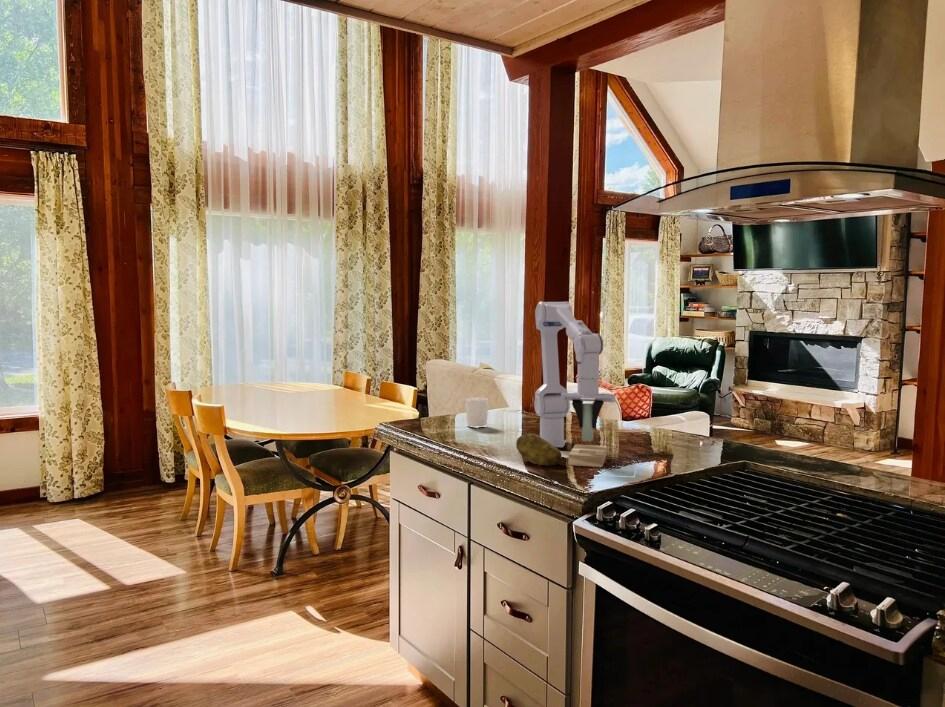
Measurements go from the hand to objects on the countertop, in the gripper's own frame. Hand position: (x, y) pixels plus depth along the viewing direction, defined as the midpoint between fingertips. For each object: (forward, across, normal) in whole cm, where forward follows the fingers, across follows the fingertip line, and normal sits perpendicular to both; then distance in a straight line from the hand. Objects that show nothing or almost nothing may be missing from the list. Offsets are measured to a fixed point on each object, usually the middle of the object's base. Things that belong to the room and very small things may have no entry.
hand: (587, 427), depth 195 cm
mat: (+10, -8, +8) cm, 14 cm away
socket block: (+10, 0, +2) cm, 10 cm away
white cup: (+10, -43, +45) cm, 63 cm away
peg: (+4, 0, 0) cm, 4 cm away
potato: (+10, -13, -5) cm, 17 cm away
